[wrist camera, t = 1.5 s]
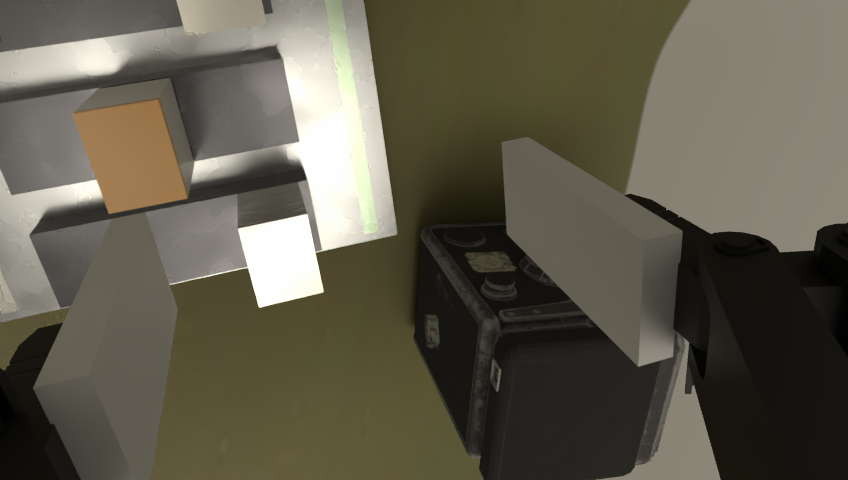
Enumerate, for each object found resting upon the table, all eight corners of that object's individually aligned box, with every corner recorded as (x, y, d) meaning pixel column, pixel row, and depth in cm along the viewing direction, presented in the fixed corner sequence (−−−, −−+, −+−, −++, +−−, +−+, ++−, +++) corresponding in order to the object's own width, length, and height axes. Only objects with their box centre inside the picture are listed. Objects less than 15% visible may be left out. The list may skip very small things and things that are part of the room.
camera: (548, 330, 45) (679, 485, 32) (406, 344, 42) (485, 521, 29) (571, 194, 41) (732, 307, 28) (415, 199, 38) (512, 327, 25)
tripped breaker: (127, 175, 29) (108, 213, 24) (98, 89, 27) (72, 113, 23) (194, 163, 29) (188, 198, 25) (169, 77, 28) (158, 99, 23)
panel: (-5, 307, 34) (-71, 406, 26) (-183, -61, 26) (-352, -68, 18) (390, 221, 38) (428, 286, 31) (339, -116, 30) (374, -140, 23)
